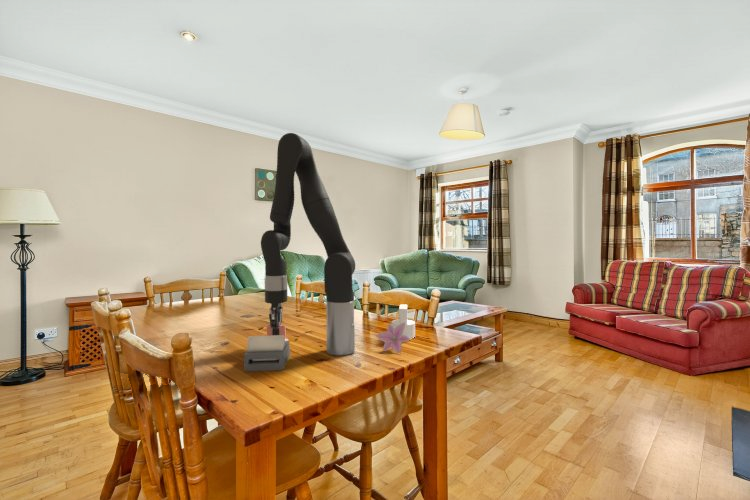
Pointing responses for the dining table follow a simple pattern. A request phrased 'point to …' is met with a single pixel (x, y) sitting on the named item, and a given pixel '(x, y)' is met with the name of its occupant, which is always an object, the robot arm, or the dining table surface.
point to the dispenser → (266, 353)
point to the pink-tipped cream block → (269, 332)
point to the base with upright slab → (409, 324)
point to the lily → (393, 337)
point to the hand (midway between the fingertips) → (276, 337)
